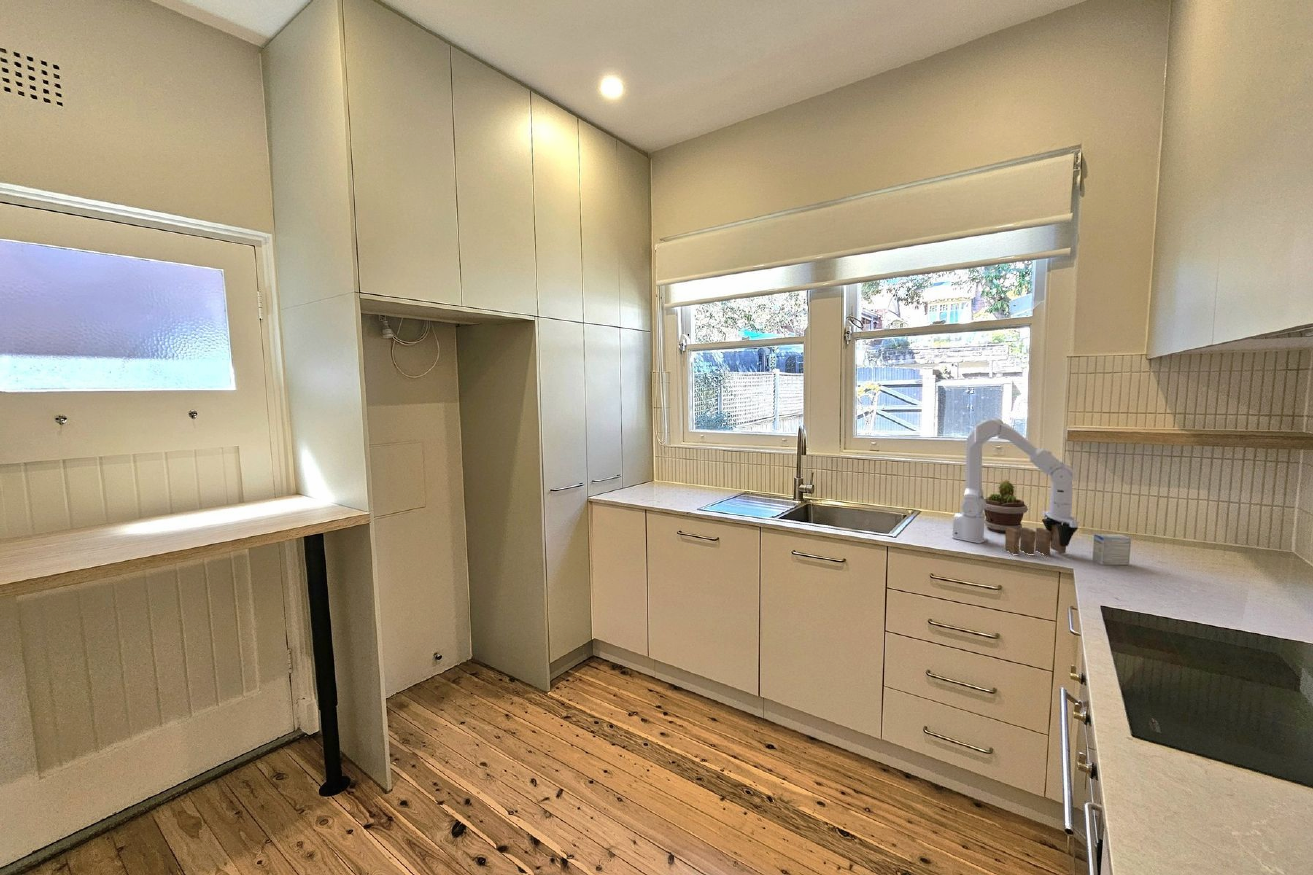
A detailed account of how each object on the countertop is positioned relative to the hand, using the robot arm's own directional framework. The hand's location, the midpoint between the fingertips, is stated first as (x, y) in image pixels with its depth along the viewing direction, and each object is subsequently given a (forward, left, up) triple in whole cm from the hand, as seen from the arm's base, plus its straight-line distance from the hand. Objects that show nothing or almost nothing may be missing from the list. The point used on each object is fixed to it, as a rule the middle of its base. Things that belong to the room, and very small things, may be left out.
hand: (1058, 543), depth 175 cm
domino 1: (-10, -10, -3) cm, 15 cm away
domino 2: (-7, -7, -3) cm, 10 cm away
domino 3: (-3, -3, -3) cm, 6 cm away
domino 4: (0, 0, -2) cm, 2 cm away
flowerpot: (-22, +19, -4) cm, 29 cm away
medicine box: (+13, +1, -4) cm, 14 cm away
